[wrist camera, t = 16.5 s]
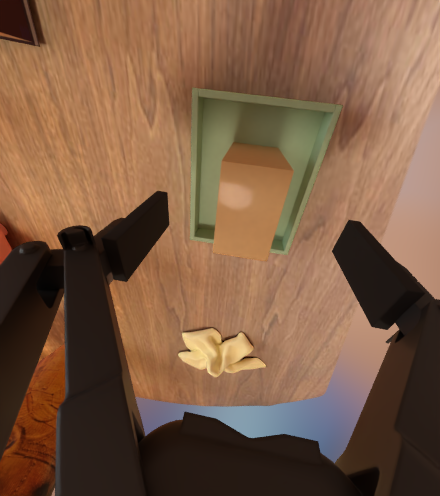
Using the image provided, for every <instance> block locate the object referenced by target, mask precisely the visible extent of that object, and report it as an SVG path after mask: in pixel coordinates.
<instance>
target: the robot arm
mask: <svg viewBox="0 0 440 496" xmlns="http://www.w3.org/2000/svg"><path fill="white" fill-rule="evenodd" d="M168 226H169V212H168V196H167V192H161V191H157V192H155V193H154V194H153V195H152V196H151V197H149V198H148V199H147V200H146V201H145V202H143V203H142V204H141V205H140V206H139V207H137V208H136V209H135V210H134V211H133V212H131V213H130V214H129V215H128V216H127V217H126V218H119V219H117V220H114V221H113V222H111V223H110V224H109V225H108V226H106V227H105V228H104V229H103V230H101V231H100V232H99V233H97V234H96V235H95V236H94V237H93V234H92V231H91V229H90V227H87V226H81V225H79V226H72V227H68V228H65V229H63V230H61V231H60V232H59V233H58V235H57V236H58V239H59V241H60V243H61V245H62V247H63V249H54V250H50V249H49V247H48V245H47V244H46V242H42V241H33V242H26V243H23V244H21V245H19V246H17V247H15V248H14V249H13V250H12V251H11V252H10V253H9V255H8V256H7V257H6V258H5V260H4V261H3V262H2V263H1V264H0V461H1V459H2V456H3V453H4V451H5V448H6V445H7V443H8V440H9V437H10V435H11V432H12V430H13V427H14V424H15V422H16V419H17V416H18V414H19V411H20V408H21V406H22V403H23V400H24V398H25V395H26V392H27V390H28V387H29V384H30V382H31V379H32V376H33V374H34V371H35V369H36V366H37V363H38V361H39V358H40V355H41V353H42V350H43V347H44V345H45V342H46V339H47V337H48V334H49V331H50V329H51V326H52V323H53V321H54V318H55V315H56V313H57V310H58V308H59V305H60V302H61V300H62V297H63V294H64V314H65V399H64V401H63V402H62V403H61V404H60V405H59V408H58V411H57V420H56V467H55V496H440V300H437V299H434V297H432V295H431V294H430V293H429V292H428V291H427V290H426V289H425V288H424V287H423V286H422V285H421V284H420V283H419V282H417V279H416V278H415V277H413V276H412V274H411V273H410V272H409V271H408V270H407V269H406V268H405V267H404V266H402V265H401V264H399V263H398V262H396V261H395V260H394V258H393V257H392V256H391V255H390V254H389V253H388V252H387V251H386V250H385V249H384V247H383V246H382V245H381V244H380V243H379V242H378V241H377V240H376V239H375V238H374V236H373V235H372V234H371V233H370V232H369V231H368V230H367V229H366V228H365V227H364V226H363V224H362V223H361V222H359V221H353V220H348V222H347V224H346V226H345V228H344V230H343V231H342V233H341V235H340V237H339V239H338V241H337V243H336V244H335V246H334V248H333V250H332V252H333V254H334V256H335V258H336V260H337V262H338V264H339V266H340V268H341V269H342V271H343V273H344V275H345V277H346V279H347V281H348V283H349V285H350V287H351V288H352V290H353V292H354V294H355V296H356V298H357V300H358V302H359V304H360V306H361V307H362V309H363V311H364V313H365V315H366V317H367V319H368V321H369V323H370V324H371V326H372V327H375V328H380V329H386V330H388V329H389V328H390V327H391V326H392V325H393V324H394V323H396V325H397V326H398V327H399V330H398V331H397V332H396V333H395V334H394V335H393V336H392V337H391V338H389V339H388V340H387V341H386V343H389V342H391V343H390V346H389V348H388V351H387V353H386V355H385V358H384V360H383V363H382V365H381V367H380V370H379V372H378V374H377V377H376V379H375V381H374V384H373V386H372V389H371V391H370V393H369V396H368V398H367V400H366V403H365V405H364V407H363V410H362V412H361V415H360V417H359V420H358V422H357V424H356V427H355V429H354V431H353V434H352V436H351V438H350V441H349V443H348V445H347V447H346V450H345V451H344V453H343V454H342V455H341V456H340V457H339V459H337V461H336V462H335V464H334V463H333V462H332V461H331V460H329V459H328V458H327V457H325V456H324V455H323V454H321V453H320V449H319V443H318V441H313V440H309V439H305V438H300V437H295V436H291V435H287V434H280V435H273V436H266V437H258V438H248V437H246V436H244V435H243V434H241V433H239V432H237V431H236V430H234V429H233V428H231V427H229V426H228V425H226V424H224V423H222V422H221V421H219V420H218V419H215V418H211V417H206V416H202V415H197V414H193V413H188V412H184V417H183V420H176V421H172V422H169V423H166V424H164V425H162V426H160V427H158V428H157V429H155V430H153V431H152V432H150V433H149V434H148V435H147V436H145V432H144V428H143V424H142V420H141V417H140V413H139V410H138V407H137V403H136V399H135V394H134V390H133V386H132V381H131V377H130V373H129V369H128V364H127V360H126V356H125V351H124V347H123V343H122V339H121V334H120V330H119V326H118V321H117V317H116V313H115V309H114V304H113V300H112V296H111V291H110V287H109V283H108V279H107V276H108V275H109V274H110V272H111V273H112V276H113V279H114V280H119V281H125V282H127V281H128V279H129V278H130V277H131V275H132V274H133V273H134V271H135V270H136V269H137V267H138V266H139V265H140V263H141V262H142V261H143V259H144V258H145V257H146V255H147V254H148V253H149V251H150V250H151V249H152V247H153V246H154V245H155V243H156V242H157V241H158V239H159V238H160V237H161V235H162V234H163V233H164V231H165V230H166V229H167V227H168Z"/></svg>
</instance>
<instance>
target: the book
mask: <svg viewBox="0 0 440 496" xmlns="http://www.w3.org/2000/svg"><path fill="white" fill-rule="evenodd" d="M0 39H5V40H9V41H14V42H19V43H24V44H29V45H34V46H39V47H40V45H39V41H38V37H37V33H36V30H35V26H34V22H33V18H32V14H31V11H30V7H29V3H28V0H0Z"/></svg>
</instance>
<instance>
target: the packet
mask: <svg viewBox="0 0 440 496" xmlns="http://www.w3.org/2000/svg"><path fill="white" fill-rule="evenodd" d="M293 173H294V170H293V168H292V167H291V166H290V164H289V163H288V161H287V160H286V158H285V157H284V155H283V154H282V152H281V151H280V150H279V148H275V147H268V146H260V145H252V144H244V143H237V142H233V143H232V145H231V146H230V148H229V150H228V151H227V153H226V155H225V156H224V158H223V160H222V161H221V171H220V181H219V192H218V202H217V213H216V223H215V234H214V244H213V253H216V254H223V255H229V256H235V257H241V258H247V259H254V260H260V261H267V259H268V256H269V252H270V249H271V246H272V242H273V239H274V236H275V232H276V229H277V226H278V223H279V219H280V216H281V213H282V209H283V206H284V203H285V199H286V196H287V193H288V190H289V186H290V183H291V180H292V176H293Z"/></svg>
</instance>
